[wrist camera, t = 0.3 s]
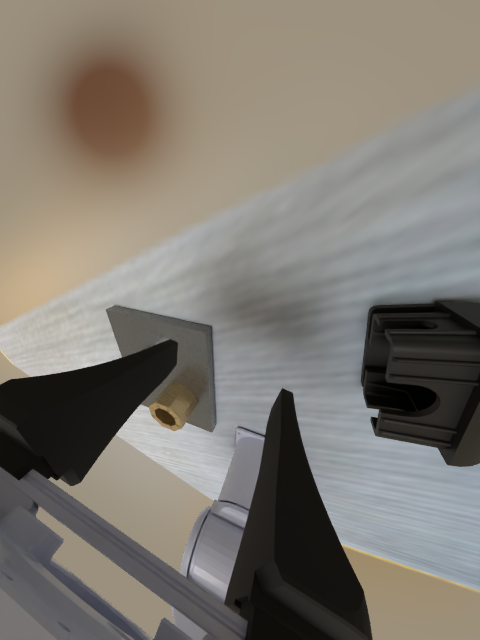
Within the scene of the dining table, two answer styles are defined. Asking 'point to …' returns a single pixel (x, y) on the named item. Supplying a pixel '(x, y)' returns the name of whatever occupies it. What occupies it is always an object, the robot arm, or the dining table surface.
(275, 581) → the robot arm
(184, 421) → the bronze hub
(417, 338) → the end cap
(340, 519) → the dining table surface
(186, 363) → the shaft stand
